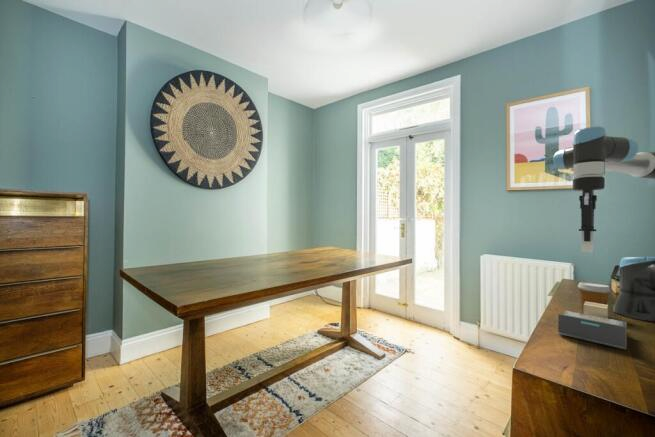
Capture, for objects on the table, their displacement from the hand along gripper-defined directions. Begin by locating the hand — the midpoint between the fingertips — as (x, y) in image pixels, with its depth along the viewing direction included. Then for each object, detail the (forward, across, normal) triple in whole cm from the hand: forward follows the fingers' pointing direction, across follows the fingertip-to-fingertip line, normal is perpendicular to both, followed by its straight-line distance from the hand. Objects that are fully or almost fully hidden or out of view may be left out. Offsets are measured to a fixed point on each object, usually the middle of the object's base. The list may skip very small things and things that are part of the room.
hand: (587, 251), depth 92 cm
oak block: (+26, -16, +1) cm, 31 cm away
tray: (+25, 0, +1) cm, 25 cm away
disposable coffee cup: (+27, -30, 0) cm, 40 cm away
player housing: (+26, -2, +1) cm, 27 cm away
